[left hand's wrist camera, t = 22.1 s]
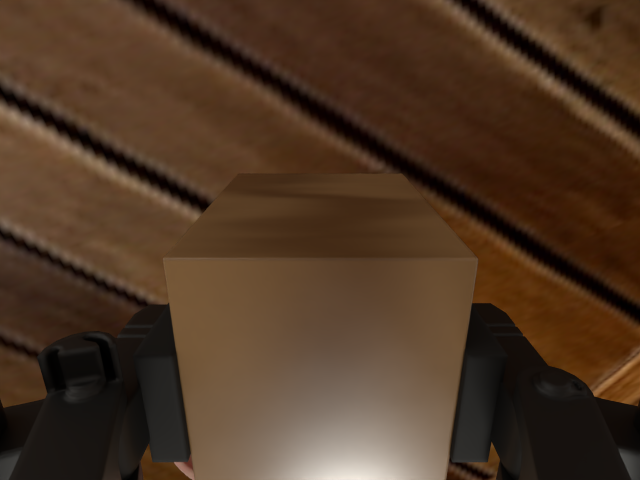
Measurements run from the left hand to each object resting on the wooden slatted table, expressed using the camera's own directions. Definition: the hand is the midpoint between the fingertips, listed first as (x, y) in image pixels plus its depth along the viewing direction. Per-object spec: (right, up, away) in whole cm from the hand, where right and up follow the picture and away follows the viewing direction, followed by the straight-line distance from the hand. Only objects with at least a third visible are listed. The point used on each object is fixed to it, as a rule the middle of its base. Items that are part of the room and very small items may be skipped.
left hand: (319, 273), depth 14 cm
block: (0, 0, +1) cm, 1 cm away
